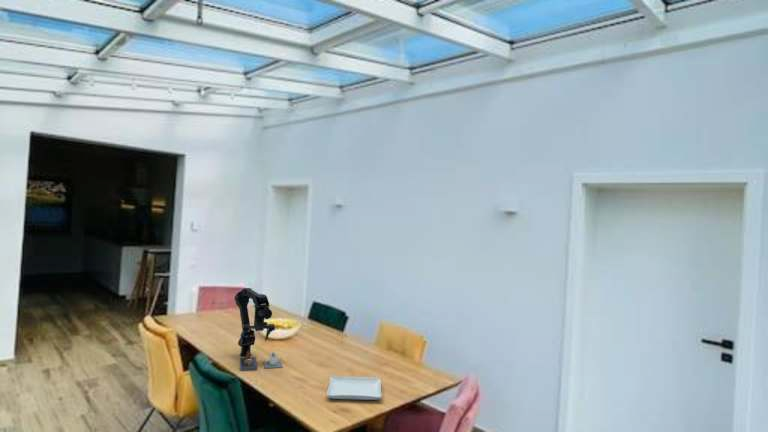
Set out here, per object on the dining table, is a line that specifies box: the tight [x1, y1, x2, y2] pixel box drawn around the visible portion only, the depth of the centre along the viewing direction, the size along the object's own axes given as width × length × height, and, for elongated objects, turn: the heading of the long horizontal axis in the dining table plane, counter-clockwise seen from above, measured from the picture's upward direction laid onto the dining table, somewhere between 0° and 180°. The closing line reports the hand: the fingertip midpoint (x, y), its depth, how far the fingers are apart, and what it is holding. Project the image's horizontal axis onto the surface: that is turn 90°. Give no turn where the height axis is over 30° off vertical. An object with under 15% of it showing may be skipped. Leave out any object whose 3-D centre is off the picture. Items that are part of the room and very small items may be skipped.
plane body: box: [239, 350, 258, 372], centre depth 268 cm, size 16×9×6 cm, turn 18°
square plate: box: [326, 376, 383, 401], centre depth 237 cm, size 27×27×4 cm
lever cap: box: [268, 352, 278, 366], centre depth 273 cm, size 6×4×6 cm, turn 18°
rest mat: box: [263, 359, 284, 370], centre depth 273 cm, size 13×10×1 cm
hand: (257, 341), depth 278 cm, fingers open, 9 cm apart
